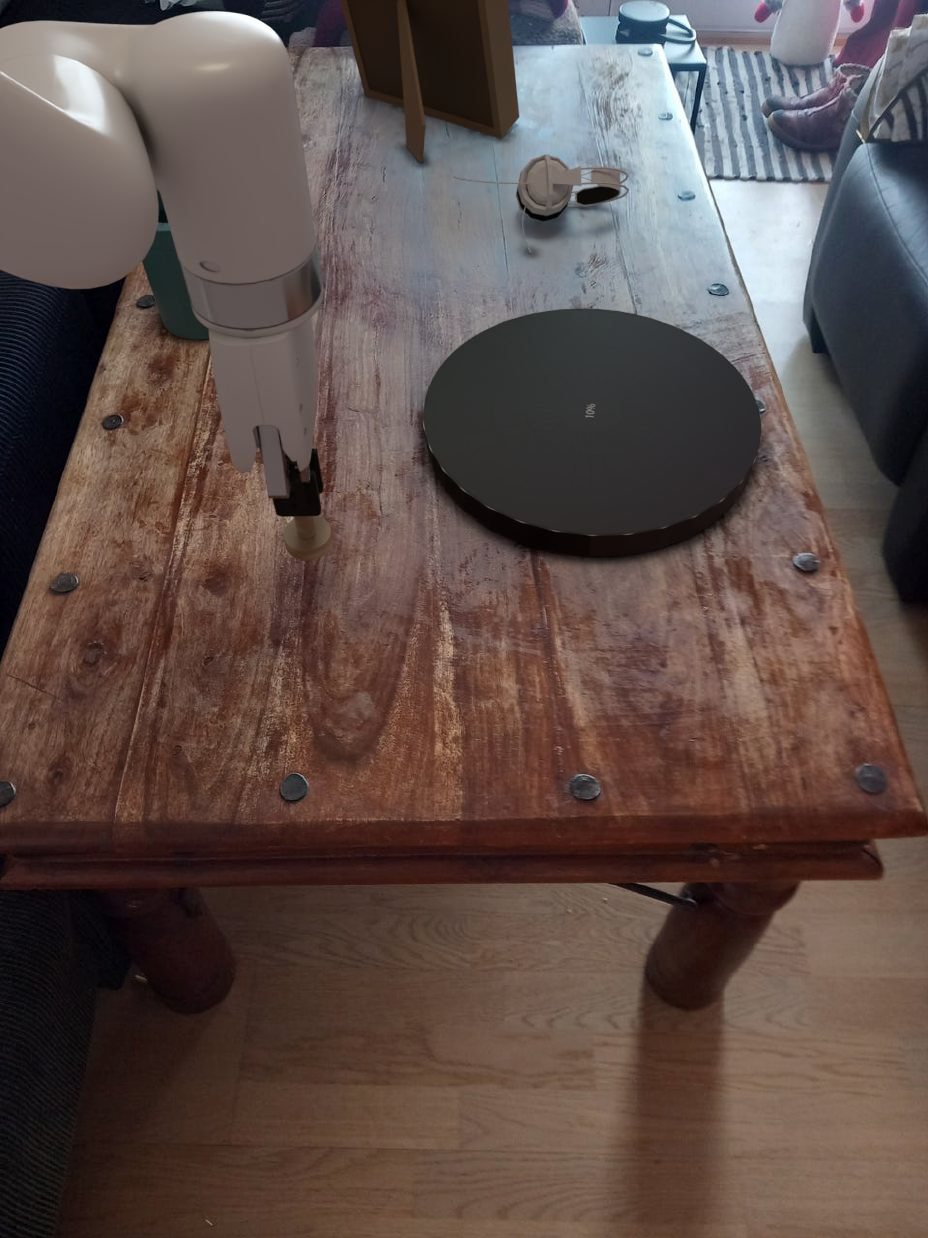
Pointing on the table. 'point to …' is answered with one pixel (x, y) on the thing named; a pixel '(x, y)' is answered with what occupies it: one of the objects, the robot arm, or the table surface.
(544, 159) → the headphones
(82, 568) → the table surface
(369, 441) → the table surface
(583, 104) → the table surface
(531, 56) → the table surface
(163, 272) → the jar
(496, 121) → the photo frame
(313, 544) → the rod on round base
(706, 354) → the disc
